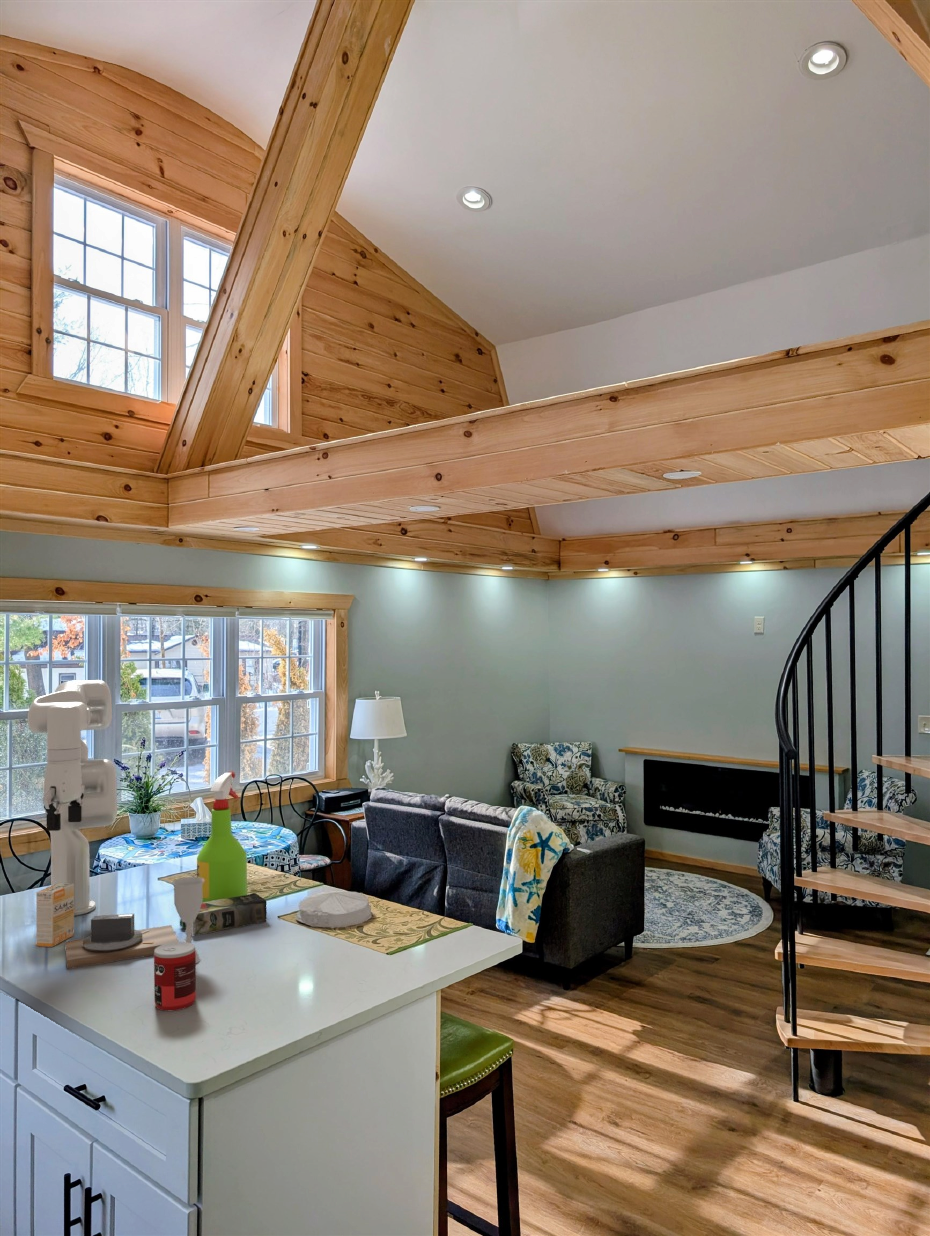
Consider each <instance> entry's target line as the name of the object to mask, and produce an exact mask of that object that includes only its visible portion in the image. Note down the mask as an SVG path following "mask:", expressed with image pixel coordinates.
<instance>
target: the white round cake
mask: <svg viewBox="0 0 930 1236" xmlns="http://www.w3.org/2000/svg"><path fill="white" fill-rule="evenodd" d="M298 909H299V911H298V912H296V914H295V919H296V920H297V921H298V922H300V923H303V924H305V925H308V926H311V927H312V928H315V927H317V928H318V927H320V928H321V927H323V928H331V929H334V928H345V927H350V926H354V925H359V924H363V923H365V922H367V921H368V920H369V919H371V918H372V916H373V915H372V911H371V910H372V905H371V904H370V899H369V897H367V896H366V895H365V894H363V893H360V892H357V891H345V890H343V891H342V890H332V891H323V892H318V893H314V894H311V895H309V896H307V897H304V898H303V899H301V900H300V901H299V902H298Z"/></svg>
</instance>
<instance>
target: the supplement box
mask: <svg viewBox="0 0 930 1236" xmlns="http://www.w3.org/2000/svg"><path fill="white" fill-rule="evenodd" d="M35 893H36V894H35V895H36V900H35V901H36V913H35V914H36V927H35V928H36V931H35V932H36V936H35V938H36V941H35V942H36V946H37V947H48V948H49V947H50V948H51V947H52V948H53V947H55V946H56V945H58V944H60V943H62V942H63V941H65V940H66V941H67V940H68V939H70V938H72V937H74V935H75V934H74V933H75V923H74V922H75V916H74V884H70V883H58V884H56V885H53V886H51V885H50V886H48V887H46V888H44V889H41V890H37V891H36V892H35Z"/></svg>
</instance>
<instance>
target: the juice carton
mask: <svg viewBox="0 0 930 1236" xmlns="http://www.w3.org/2000/svg"><path fill="white" fill-rule="evenodd" d="M267 903H268V902H267V900H266V899H265V898H263V897H261V896H260V895H259V894H257V893H256V892H253V893H252V892H251V893H250V894H247V895H243V896H237V897H231V898H226V899H219V900H213V901H209V902H203V903H202V904H201V907H200V910H199V912H198V914H197V917H196V919H195V921H193V922H191V929H192V932H191V937H194V936H197V935H196V934H200V935H204V934H203V933H205V934H211V933H214V932H219V930H220V931H224V929H225V930H229V929H230V928H231V929H236V928H241V927H247V926H251V925H256V924H262V923H266V922H267V919H268V918H267ZM179 920H180V921H179V926H180V927H182V928H183V929H185V930H186V927H187V926H186V923H185V922H182V920H181V918H180V919H179ZM231 929H230V930H231ZM210 932H211V933H210Z"/></svg>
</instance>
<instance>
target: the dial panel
mask: <svg viewBox="0 0 930 1236" xmlns="http://www.w3.org/2000/svg"><path fill="white" fill-rule="evenodd" d="M137 930H138V931H140V932H142V941H141V942H140V943H138V944H137V945H135V946H132V947H130V948H127V949H123V950H118V951H112V952H90V951H87V950H85V949H84V948H83V941H84V939H86V938H87V937H85V938H78V939H72V940H66V941H65V959H66V970H69V969H70V970H71V969H76V968H77V969H78V968H83V967H89V966H95V965H100V964H107V963H112V962H113V963H114V962H120V961H126V960H131V959H137V958H144V957H148V956H149V955H150V956H154V950H155V949H156V948H157V947H159V946H161V945H164V944H167V943H173V942H180V941H179V939H178V936H177V935H176V932H175V929H174V928H173V925H170V924H169V925H164V926H156V927H151V928H150V927H149V928H144V929H137ZM143 956H144V957H143ZM150 956H149V957H150Z"/></svg>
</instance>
